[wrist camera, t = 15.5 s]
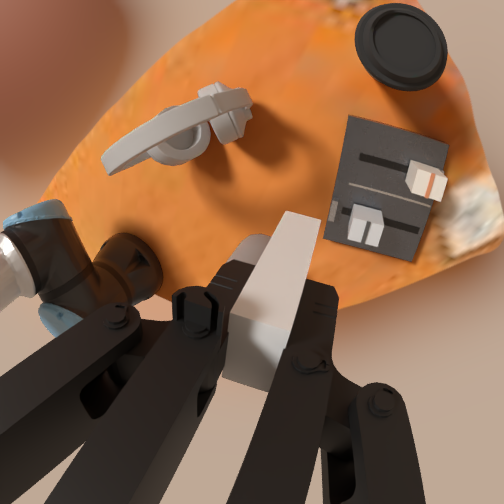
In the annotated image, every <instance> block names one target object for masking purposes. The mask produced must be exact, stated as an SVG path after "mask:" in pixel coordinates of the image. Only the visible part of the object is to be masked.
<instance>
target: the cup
mask: <svg viewBox="0 0 504 504" xmlns="http://www.w3.org/2000/svg"><path fill="white" fill-rule="evenodd" d="M270 239H271V237H270V236H267V235H264V234H254V235H250V236H248V237H247V238H245V239H244V240H242V241H241V243H240V244H239V245H238V247H237V248H236V250H235V251H234V252H233V254H232V255H231V256H230V258H229V259H228V261H227V262H229V261H231V260H233V259H235V260H239V261H242V262H246V263H249V264H252V265H256V264H257V262H258V261H259V259H260V257H261V255H262V253H263V252H264V250H265V248H266V246H267V244H268V242H269V241H270ZM227 262H226V263H227Z"/></svg>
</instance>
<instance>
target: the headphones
mask: <svg viewBox="0 0 504 504" xmlns="http://www.w3.org/2000/svg"><path fill="white" fill-rule="evenodd" d="M198 97H199V98H197V99H194V100H192V101H189V102H187V103H185V104H182V105H180V106H171V107H168V108H165V109H164V110H163V111H161V112H160V113H159V114H157V115H156V116H155V117H154V118H153V119H151V120H150V121H148V122H146V123H144V124H143V125H141V126H139V127H137V128H136V129H134V130H133V131H131V132H130V133H128V134H127V135H125V136H124V137H122V138H121V139H120V140H118V141H117V142H116V143H114V144H113V145H112V146H111V147H110V148H108V149H107V150H106V151H105V152H104V154H103V155H102V156H101V161H102V163H103V165H104V167H105V169H106V172H107V174H108V175H109V176H112V175H113V174H115V173H118V172H120V171H123V170H125V169H127V168H129V167H132V166H134V165H136V164H138V163H140V162H142V161H144V160H146V159H148V158H150V157H152V158H153V159H154V160H155V161H157V162H159V163H161V164H163V165H170V166H175V165H181V164H184V163H186V162H188V161H190V160H192V159H194V158H196V157H198V156H200V155H201V154H202V153H203V152H204V151H205V150H206V148H207V146H208V144H209V142H210V136H211V132H210V127H209V124H208V122H207V121H210V123H211V126H212V128H213V130H214V132H215V134H216V136H217V138H218V139H219V141H220V142H221V143H222V144H228V143H230V142H232V141H234V140H237V139H238V137H239V138H241V137H243V136H244V131H245V126H246V122H247V121H248V120H250V119H252V113H251V110H250V108H251V106H252V105H253V103H252V100H251V98H250V96H249V94H248V92H247V90H246V89H244V88H239V87H238V88H235V89H231V88H229V87H227V86H226V85H224V84H222V83H220V82H219V81H218V82H215V84H211V85H209V86H206V87H204V88H202V89H200V90H199V91H198Z"/></svg>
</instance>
